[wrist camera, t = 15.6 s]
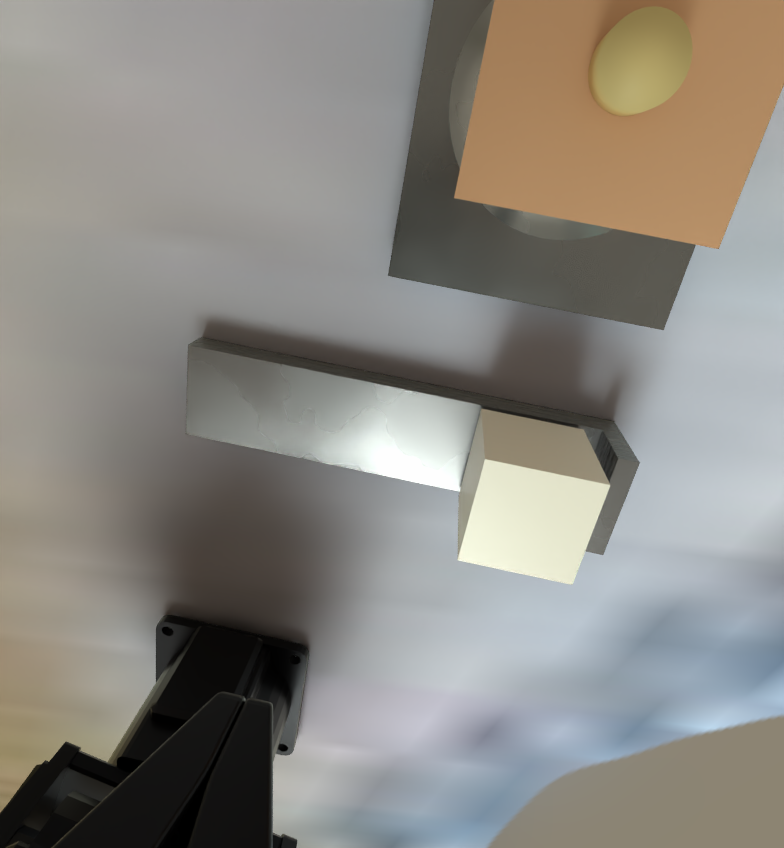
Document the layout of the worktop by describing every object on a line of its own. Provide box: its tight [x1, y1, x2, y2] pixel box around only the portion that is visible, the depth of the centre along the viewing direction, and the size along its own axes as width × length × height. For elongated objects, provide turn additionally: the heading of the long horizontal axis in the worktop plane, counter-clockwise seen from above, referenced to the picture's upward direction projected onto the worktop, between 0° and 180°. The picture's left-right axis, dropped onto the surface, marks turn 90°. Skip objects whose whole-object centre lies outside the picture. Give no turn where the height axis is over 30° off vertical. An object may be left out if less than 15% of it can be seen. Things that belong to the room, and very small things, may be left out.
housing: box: [454, 0, 784, 249], centre depth 12 cm, size 5×5×6 cm
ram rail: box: [186, 337, 640, 555], centre depth 18 cm, size 3×14×3 cm, turn 80°
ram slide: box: [458, 409, 610, 585], centre depth 17 cm, size 3×3×4 cm
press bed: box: [388, 0, 695, 330], centre depth 15 cm, size 10×8×1 cm
